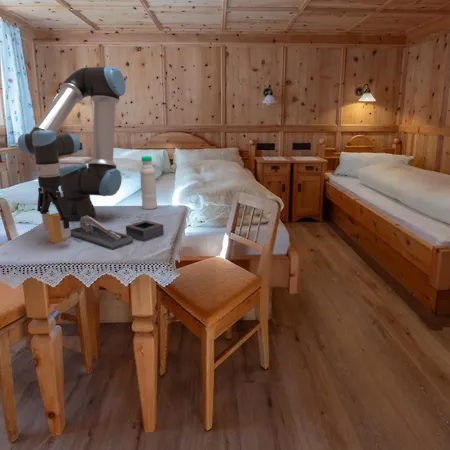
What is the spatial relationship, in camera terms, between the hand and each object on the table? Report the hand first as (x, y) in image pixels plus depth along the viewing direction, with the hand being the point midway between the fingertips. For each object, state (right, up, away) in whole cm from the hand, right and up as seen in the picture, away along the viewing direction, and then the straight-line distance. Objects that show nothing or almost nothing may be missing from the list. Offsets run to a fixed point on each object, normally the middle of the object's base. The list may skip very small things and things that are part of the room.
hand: (56, 233), depth 150 cm
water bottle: (+26, +11, +47) cm, 55 cm away
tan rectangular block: (0, -3, +1) cm, 3 cm away
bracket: (+16, -1, +2) cm, 16 cm away
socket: (+31, -1, +6) cm, 32 cm away
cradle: (+15, -2, +3) cm, 16 cm away
